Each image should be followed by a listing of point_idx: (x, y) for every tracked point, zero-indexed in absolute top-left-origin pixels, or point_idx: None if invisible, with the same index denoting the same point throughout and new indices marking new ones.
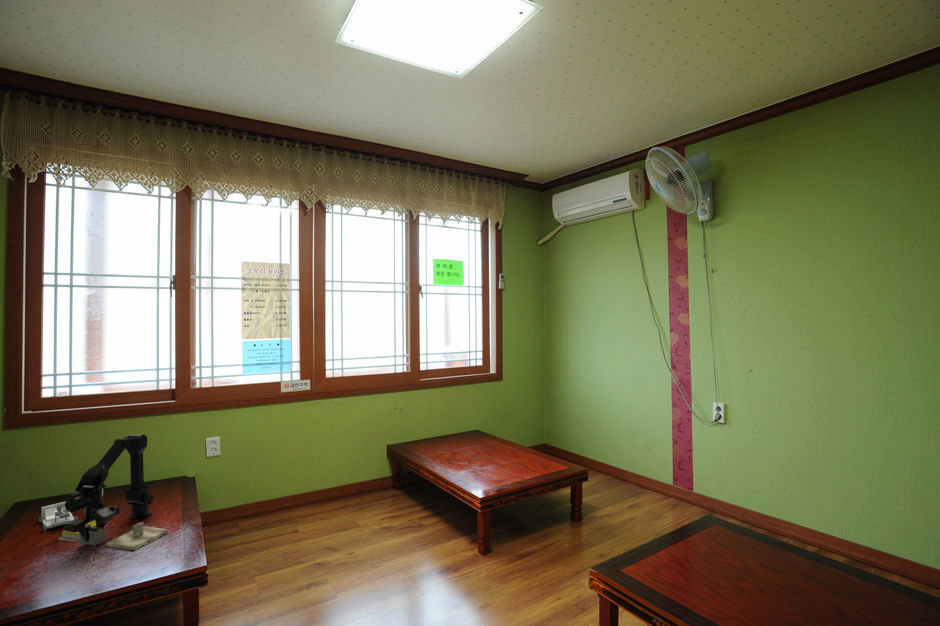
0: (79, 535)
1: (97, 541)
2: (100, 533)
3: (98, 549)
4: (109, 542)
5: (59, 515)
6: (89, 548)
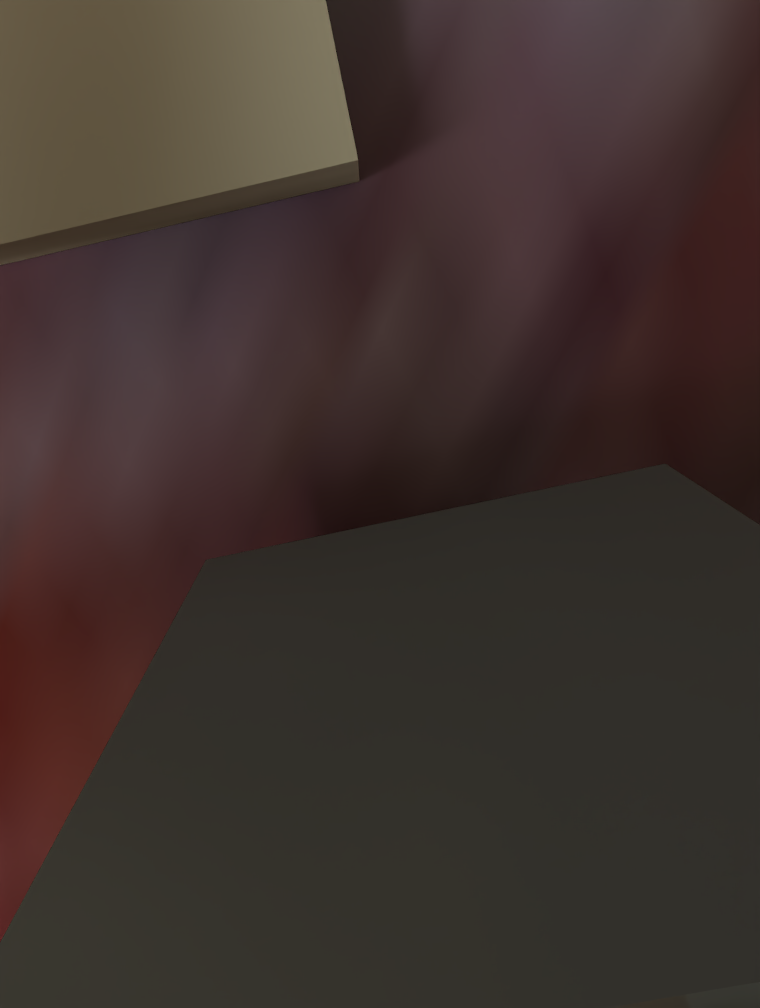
0: None
1: (572, 527)
2: (483, 780)
3: (616, 218)
4: (259, 74)
5: None
6: None
